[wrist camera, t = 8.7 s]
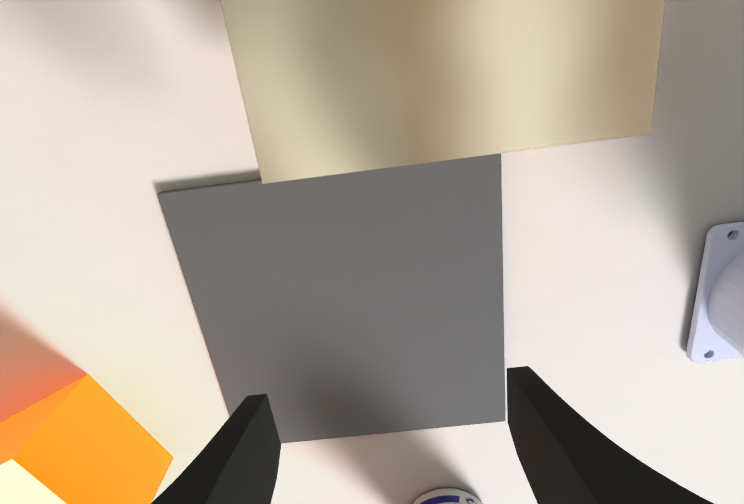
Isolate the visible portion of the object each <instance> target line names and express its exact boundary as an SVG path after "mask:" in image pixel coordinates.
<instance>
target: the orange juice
mask: <svg viewBox="0 0 744 504" xmlns="http://www.w3.org/2000/svg"><path fill="white" fill-rule="evenodd" d="M172 460H173V457H172V456H171V455H170V454H169V453H168V452H167V451H166V450H165V449H164V448H163V447H162V446H161V445H160V444H159V443H158V442H157V441H156V440H155V439H154V438H153V437H152V436H151V435H150V434H149V433H148V432H147V431H146V430H145V429H144V428H143V427H142V426H141V425H140V424H139V423H138V422H137V421H135V420H134V419H133V418H132V417H131V416H130V415H129V414H128V413H127V412H126V411H125V410H124V409H123V408H122V407H121V406H120V405H119V404H118V403H117V402H116V401H115V400H114V399H113V398H112V397H111V396H110V395H109V394H108V393H107V392H106V391H105V390H104V389H103V388H102V387H101V386H100V385H99V384H98V383H97V382H96V381H95V380H94V379H93V378H92V377H90V376H89V375H86V376H84V377H82V378H80V379H78V380H77V381H75V382H73V383H71V384H69V385H68V386H66V387H64V388H62V389H60V390H58V391H57V392H55V393H53V394H51V395H49V396H48V397H46V398H44V399H42V400H40V401H38V402H37V403H35V404H33V405H31V406H29V407H28V408H26V409H24V410H22V411H20V412H18V413H17V414H15V415H13V416H11V417H9V418H8V419H6V420H4V421H2V422H0V504H151V502H152V500H153V498H154V496H155V494H156V492H157V490H158V488H159V486H160V484H161V482H162V480H163V478H164V476H165V474H166V472H167V470H168V468H169V466H170V464H171V462H172Z"/></svg>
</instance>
